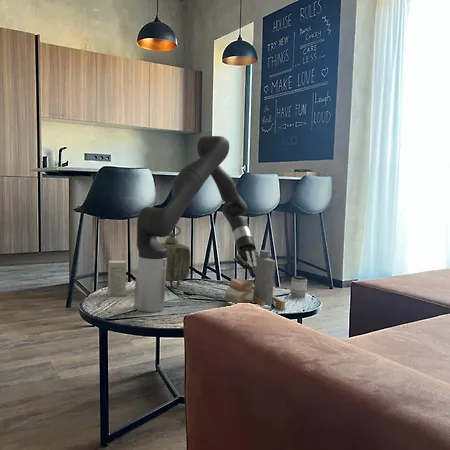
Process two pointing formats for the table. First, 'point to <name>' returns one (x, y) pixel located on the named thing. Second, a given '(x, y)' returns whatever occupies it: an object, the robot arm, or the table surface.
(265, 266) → the hip flask
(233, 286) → the offcut cherry
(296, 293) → the camera lens
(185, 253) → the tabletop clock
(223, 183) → the robot arm
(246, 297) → the offcut ash
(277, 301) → the slot rack
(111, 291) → the skincare box
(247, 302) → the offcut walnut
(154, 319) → the table surface
